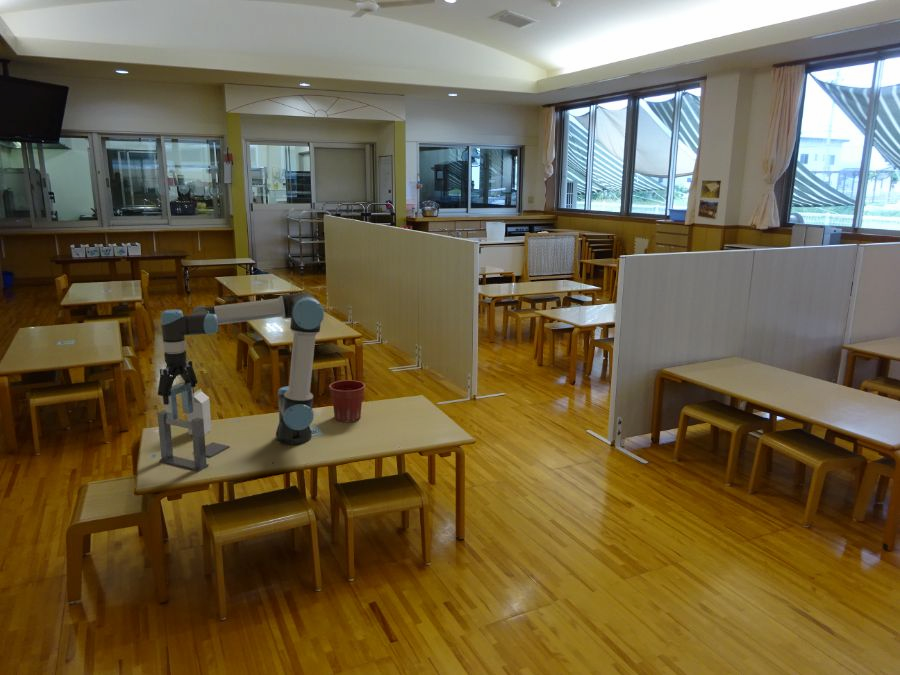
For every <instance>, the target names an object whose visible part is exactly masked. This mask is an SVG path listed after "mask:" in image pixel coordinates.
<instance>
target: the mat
mask: <svg viewBox="0 0 900 675" xmlns="http://www.w3.org/2000/svg"><path fill="white" fill-rule="evenodd" d="M230 448H231V446H230V445H226V444H222V443H218V442H211V443H209V444H205V449H206V458H212V457H214V456H216V455H218V454H220V453H222V452H224V451H226V450H228V449H230ZM192 454H194V451H193V452H192Z"/></svg>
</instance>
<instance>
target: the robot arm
mask: <svg viewBox="0 0 900 675" xmlns="http://www.w3.org/2000/svg"><path fill="white" fill-rule="evenodd" d="M324 315H325V312H324V308H323V305H322V304H321V303H320V301H319V300H317V299H316V297H315V296H314V295H312V294H311V293H308V292H295V293H291V294H290V293H288V294H284V295H283V294H282V295H279V297H277V298H271V299H270V298H269V299H263V300H254V301H253V300H252V301H246V302H245V301H244V302H238V303H230V304H222V305H221V304H220V305H214V306H204V305H198V306H196V307H195V308H193V309H192V312H191V313H190V314H188V315H187V314H184V313H183V311H182V310H181V309H166V310H163V311H162V312H161V314H160V319H161V320H160V323H161V324H160V325H161V335H162V343H163V352H164V353H163V356H164V362H165V364H166V366H165V367H166V368H160V369H159V375H160V376H159V380H158V381H159V383H158V388H157V395H158V396H161V397H162V402H163V405H164V408H165V410H164V411H165V412H170V413H172V401H171V396H170V395H169V394H170V390H171V388H172V386H174V381H175V379H176V378H177V377H178V376H180V377H181V378H182V379H183V382H189V383H190V382H191V389H192V401H193V403H194V399H193V394H194V393H195V390H194V389H195V388H196V386H197V384H198V379H197V375H196V373H195V369H194V367H193V361H192V360H187V352H186V340H185V339H186V338H185V336H195V335H196V336H197V335H211V334H217V333H218V332H219V326H220V325H226V324H228V325H229V324H233V323H234V324H235V323H242V322H243V323H244V322H250V321H258V320H265V319H266V320H267V319H272V318H274V319H275V318H280V317H281V318H283V319H284V320H285V319H290V328H289V329H290V331H291V332H292V333H293V337H292V338H293V339H292V345H291V346H292V349H291V358H290V369H289V380H288V385H287V386H282V387H280V388H279V389H278V392H277V397H278V424H277V429H276V432H275V441H276V442H278V443H280V444H283V445H298V444H299V445H300V444H303V443H306V442H309V441H310V440H311V439H312V438H313V436H312V433H313V432H312V430H311V427H310V425H312V422H313V421H314V411H313V404H314V395H313V393H312V392H311V385H312V384H311V383H312V375H313V365H314V364H313V362H314V356H315V345H316V336H317V335H318V334H319V333H320V332H321V325H322V322H323V320H324Z"/></svg>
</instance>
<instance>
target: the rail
mask: <svg viewBox="0 0 900 675" xmlns="http://www.w3.org/2000/svg"><path fill="white" fill-rule="evenodd" d="M157 423H158V435H159V445H160V459H159V462H160V463H163V464H168V465H172V466H176V467H179V468H184V469H188V470H192V471H197V472H201V471H203V470H204V469H207V468H208V467H209V465H210V464H208V463H207V457H206V449H205V446H206V440H205V439H206V437H205V435H206V434H205V435H204V421H203V419H202V418H195V419H193V420H191V422H190V421H187V419H181V418H178V419H176V420H169V419H167V412H165V410H161V411H159V412H157ZM172 426H175V427H180V428H184V429H187V430H188V429H192V435H191V436H192V448H193V452H194V453H193V460H192V459H188V458H183V457H179V456H175V455H174V451H173V441H172V439H173V438H172V428H171V427H172Z"/></svg>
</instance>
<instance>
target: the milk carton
mask: <svg viewBox="0 0 900 675" xmlns="http://www.w3.org/2000/svg"><path fill="white" fill-rule="evenodd" d="M193 399H194V403H193V412H192V413H189V414H188V413H186V421H190V422H191V420H193V419H195V418H202V419H203V421H204V435H207V434H209V432H210V431H212V420H211V419H212V418H211V417H212V416H211V403H210V396H208V395H207V394H205V393H204V392H203V391H202V388H199V389H198V390H197V391H194V394H193ZM187 433H188V435H189V436H192V429H188V428H187Z"/></svg>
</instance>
